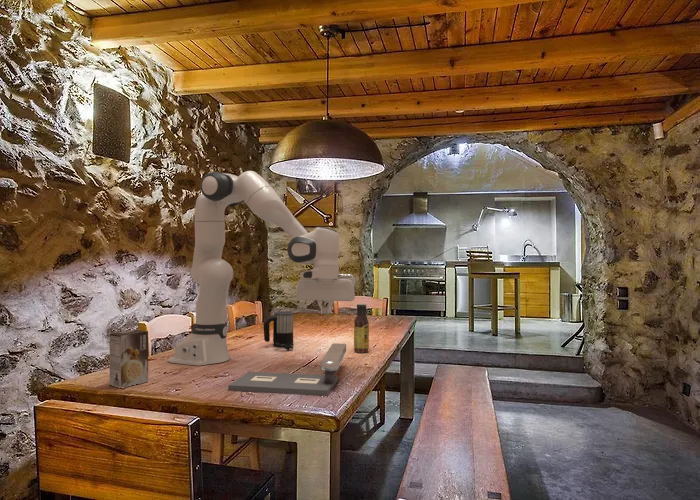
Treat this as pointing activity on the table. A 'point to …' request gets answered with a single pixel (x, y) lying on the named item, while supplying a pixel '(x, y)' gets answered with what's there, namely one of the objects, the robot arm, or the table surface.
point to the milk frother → (280, 329)
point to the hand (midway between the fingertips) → (325, 313)
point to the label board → (285, 383)
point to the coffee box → (128, 358)
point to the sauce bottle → (361, 330)
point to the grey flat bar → (333, 357)
